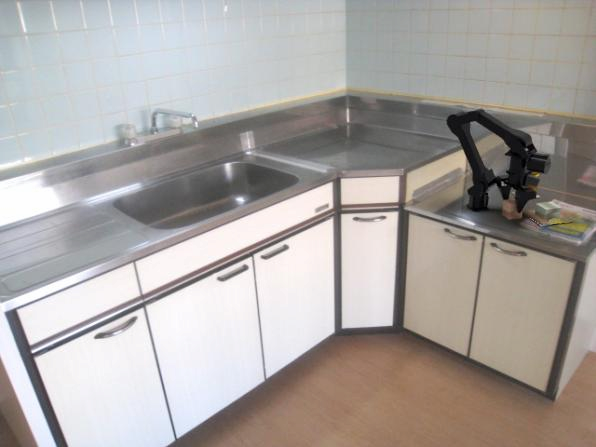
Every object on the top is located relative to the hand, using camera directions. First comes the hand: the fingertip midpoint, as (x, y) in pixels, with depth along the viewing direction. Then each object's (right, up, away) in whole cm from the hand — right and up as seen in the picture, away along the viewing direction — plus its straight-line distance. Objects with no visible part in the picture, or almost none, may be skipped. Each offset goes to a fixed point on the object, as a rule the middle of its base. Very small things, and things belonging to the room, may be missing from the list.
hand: (512, 208), depth 186 cm
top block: (0, -3, +1) cm, 3 cm away
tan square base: (+12, -4, -2) cm, 13 cm away
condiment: (+13, +6, +18) cm, 24 cm away
